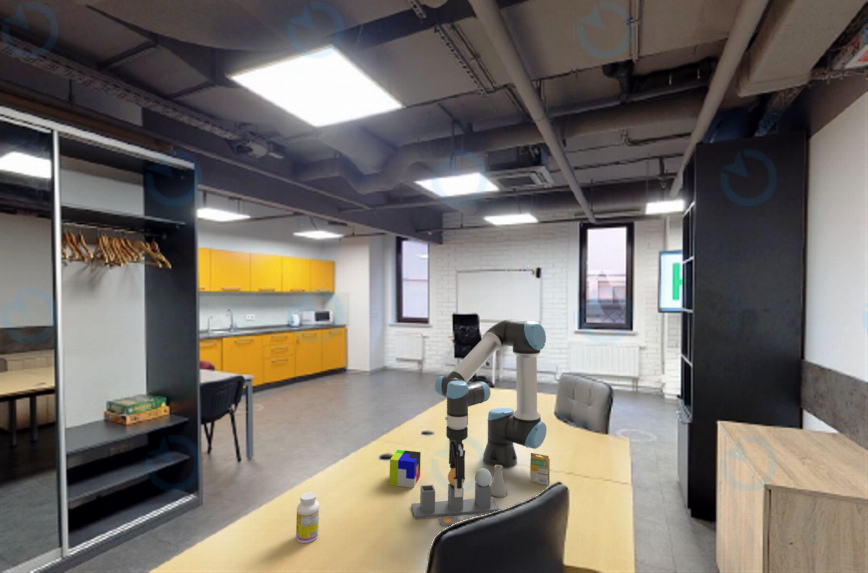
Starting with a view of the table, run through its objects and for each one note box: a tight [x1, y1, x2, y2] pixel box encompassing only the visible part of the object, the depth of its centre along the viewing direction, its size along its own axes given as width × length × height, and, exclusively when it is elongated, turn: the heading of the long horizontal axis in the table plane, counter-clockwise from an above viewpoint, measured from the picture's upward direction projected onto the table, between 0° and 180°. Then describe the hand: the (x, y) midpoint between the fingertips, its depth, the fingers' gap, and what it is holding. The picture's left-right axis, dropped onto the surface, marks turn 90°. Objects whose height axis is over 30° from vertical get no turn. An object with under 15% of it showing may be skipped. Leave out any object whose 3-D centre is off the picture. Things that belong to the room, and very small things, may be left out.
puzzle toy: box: [388, 449, 421, 489], centre depth 162 cm, size 10×10×10 cm
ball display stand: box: [411, 481, 501, 520], centre depth 142 cm, size 30×8×8 cm, turn 101°
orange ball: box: [447, 468, 465, 486], centre depth 142 cm, size 6×6×6 cm
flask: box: [489, 465, 508, 498], centre depth 154 cm, size 7×7×10 cm
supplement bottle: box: [295, 491, 320, 544], centre depth 124 cm, size 7×7×13 cm
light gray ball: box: [474, 467, 493, 487], centre depth 143 cm, size 6×6×6 cm
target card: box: [438, 514, 481, 528], centre depth 134 cm, size 14×4×1 cm, turn 101°
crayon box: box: [529, 452, 551, 486], centre depth 163 cm, size 7×3×12 cm, turn 65°
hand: (456, 491), depth 142 cm, fingers closed on orange ball, 6 cm apart
